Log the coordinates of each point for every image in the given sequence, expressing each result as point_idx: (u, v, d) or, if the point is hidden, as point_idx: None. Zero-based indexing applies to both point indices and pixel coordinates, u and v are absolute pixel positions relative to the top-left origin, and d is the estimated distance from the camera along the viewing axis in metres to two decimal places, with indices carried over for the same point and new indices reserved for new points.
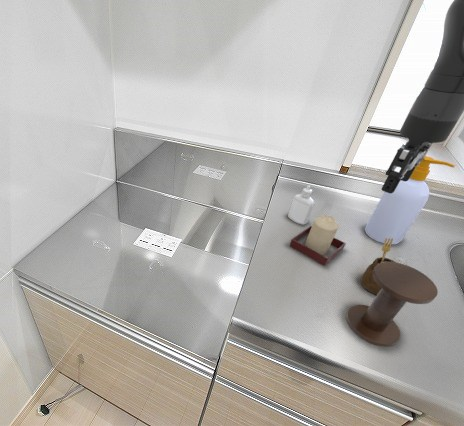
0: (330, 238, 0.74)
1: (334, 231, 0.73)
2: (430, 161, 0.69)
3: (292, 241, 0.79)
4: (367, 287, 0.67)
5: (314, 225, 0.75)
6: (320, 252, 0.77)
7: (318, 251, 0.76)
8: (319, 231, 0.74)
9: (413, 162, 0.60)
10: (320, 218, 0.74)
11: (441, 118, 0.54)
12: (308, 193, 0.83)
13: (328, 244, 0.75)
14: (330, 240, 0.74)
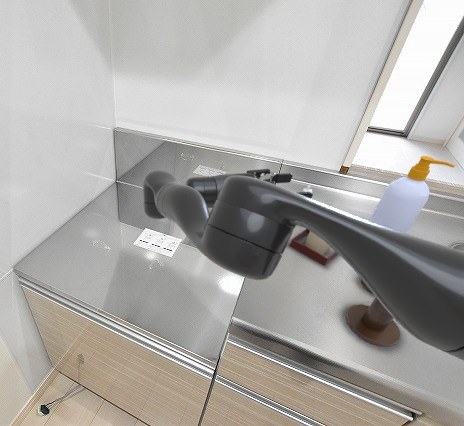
0: None
1: None
2: (430, 161, 0.69)
3: (292, 241, 0.79)
4: (367, 287, 0.67)
5: None
6: (320, 252, 0.77)
7: (318, 251, 0.76)
8: None
9: None
10: None
11: None
12: None
13: None
14: None
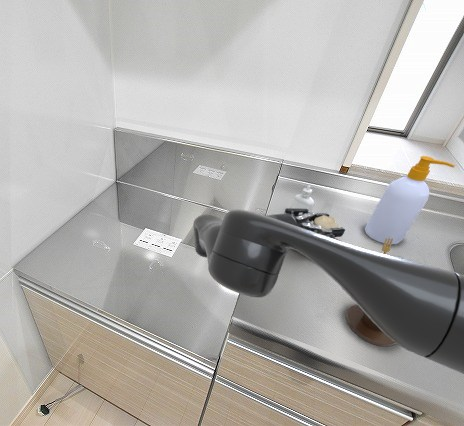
0: None
1: None
2: (430, 161, 0.69)
3: None
4: None
5: None
6: None
7: None
8: None
9: (315, 228, 0.71)
10: (320, 218, 0.74)
11: None
12: (308, 193, 0.83)
13: None
14: None
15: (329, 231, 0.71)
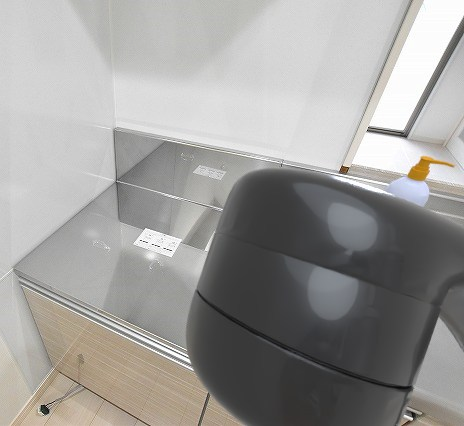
0: None
1: None
2: (430, 161, 0.69)
3: None
4: None
5: None
6: None
7: None
8: None
9: None
10: None
11: None
12: None
13: None
14: None
15: None
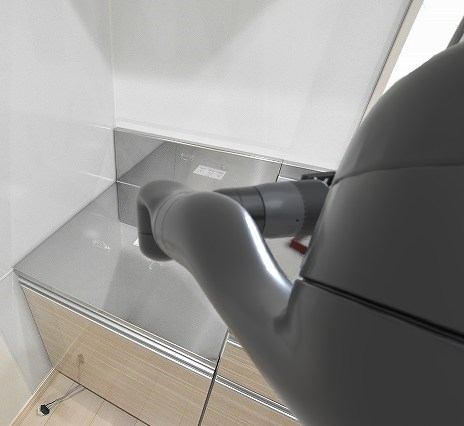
0: None
1: None
2: None
3: (292, 241, 0.79)
4: None
5: None
6: None
7: None
8: None
9: None
10: None
11: (300, 211, 0.35)
12: None
13: None
14: None
15: None
